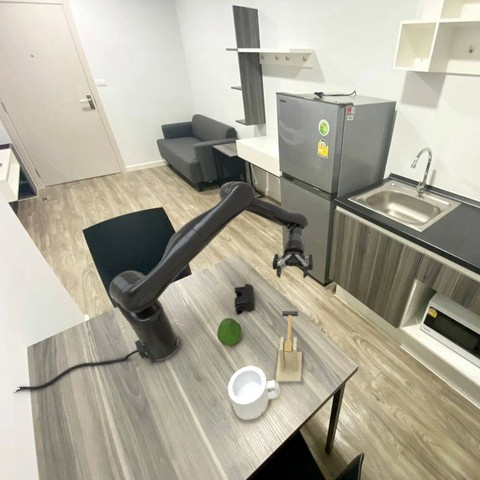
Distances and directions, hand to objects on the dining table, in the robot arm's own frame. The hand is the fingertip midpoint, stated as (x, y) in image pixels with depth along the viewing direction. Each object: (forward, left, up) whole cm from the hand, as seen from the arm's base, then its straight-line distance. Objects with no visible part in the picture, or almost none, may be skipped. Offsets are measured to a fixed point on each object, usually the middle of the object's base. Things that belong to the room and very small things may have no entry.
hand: (291, 276), depth 90 cm
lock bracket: (-12, -15, -23) cm, 30 cm away
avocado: (-22, +6, -23) cm, 33 cm away
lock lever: (-9, -11, -10) cm, 18 cm away
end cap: (-10, +18, -23) cm, 31 cm away
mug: (-26, -17, -23) cm, 39 cm away
